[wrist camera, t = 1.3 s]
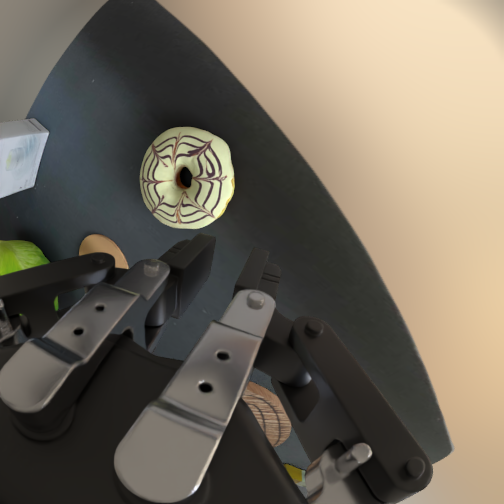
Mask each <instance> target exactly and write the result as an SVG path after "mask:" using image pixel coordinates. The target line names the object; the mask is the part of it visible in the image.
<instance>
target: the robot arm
mask: <svg viewBox="0 0 504 504" xmlns="http://www.w3.org/2000/svg"><path fill="white" fill-rule="evenodd" d="M215 242H216V238H215V237H214V236H210V235H206V234H203V233H199V234H198V235H197V236H195V237H194V238H193V239H192V240H191V241H190V240H184V241H181V242H178V243H177V244H175V245H174V246H173V247H172V248H171V249H169V250H168V251H167V252H166V253H165V254H163V255H162V256H161V257H160V258H159V259H157V260H155V259H146V260H141V261H139V262H137V263H136V264H135V265H134V266H132V267H131V268H130V269H125V268H118V267H115V258H114V256H112V255H111V254H108V253H104V252H94V253H90V254H85V255H81V256H77V257H72V258H68V259H64V260H60V261H56V262H52V263H47V264H43V265H39V266H35V267H31V268H28V269H24V270H20V271H16V272H12V273H8V274H5V275H1V276H0V504H396V503H398V502H400V501H402V500H404V499H406V498H408V497H410V496H412V495H414V494H416V493H418V492H419V491H421V490H423V489H424V488H425V487H427V485H428V484H429V483H430V481H431V478H432V474H433V466H432V463H431V460H430V459H429V457H428V455H427V454H426V453H425V451H424V450H423V449H422V447H421V446H420V445H419V443H418V442H417V440H416V439H415V438H414V436H413V435H412V434H411V432H410V431H409V430H408V428H407V427H406V426H405V424H404V423H403V421H402V420H401V419H400V417H399V416H398V415H397V413H396V412H395V411H394V409H393V408H392V407H391V405H390V404H389V403H388V401H387V400H386V399H385V397H384V396H383V395H382V393H381V392H380V391H379V389H378V388H377V387H376V386H375V384H374V383H373V382H372V380H371V379H370V378H369V376H368V375H367V374H366V372H365V371H364V370H363V368H362V367H361V366H360V365H359V363H358V362H357V361H356V359H355V358H354V357H353V355H352V354H351V353H350V352H349V350H348V349H347V348H346V346H345V345H344V344H343V342H342V341H341V340H340V339H339V337H338V336H337V335H336V333H335V332H334V331H333V330H332V328H331V327H330V326H329V325H328V324H327V323H326V322H324V321H322V320H321V319H318V318H315V317H311V316H302V317H299V318H297V319H296V320H295V321H294V322H293V321H291V320H289V319H287V318H286V317H284V316H283V315H281V314H280V313H279V312H278V310H277V309H276V307H275V299H276V295H277V290H278V286H279V281H280V276H281V270H280V268H279V266H278V265H276V264H272V263H269V262H267V260H268V256H269V251H265V250H261V249H258V248H253V250H252V252H251V254H250V256H249V258H248V260H247V262H246V264H245V266H244V268H243V270H242V272H241V274H240V276H239V278H238V280H237V282H236V284H235V288H234V293H233V298H232V302H231V303H230V305H229V306H228V308H227V310H226V311H225V313H224V314H223V316H222V317H221V319H220V320H219V321H216V320H212V321H211V323H210V324H209V325H208V327H207V328H206V330H205V331H204V333H203V334H202V336H201V337H200V338H199V340H198V341H197V343H196V344H195V346H194V347H193V349H192V350H191V352H190V353H189V354H188V356H187V357H186V359H185V360H184V361H182V360H175V359H170V358H164V357H159V356H155V355H153V352H154V350H155V348H156V346H157V345H158V343H159V341H160V339H161V338H162V336H163V334H164V332H165V331H166V328H167V320H168V319H169V318H170V316H171V317H173V318H176V319H180V318H181V316H182V315H183V313H184V312H185V311H186V309H187V308H188V306H189V305H190V303H191V302H192V300H193V299H194V298H195V296H196V295H197V293H198V292H199V291H200V289H201V288H202V286H203V285H204V283H205V282H206V281H207V279H208V277H209V274H210V271H211V266H212V260H213V254H214V248H215ZM83 287H84V288H85V295H84V296H83V297H82V298H81V299H80V300H79V301H78V302H77V303H76V304H75V305H74V306H72V307H68V308H65V309H62V310H56V309H55V305H54V301H55V298H56V297H57V296H58V295H60V294H62V293H66V292H69V291H73V290H76V289H80V288H83ZM20 314H23V315H22V316H21V315H20ZM254 368H256V369H258V370H260V371H262V372H264V373H265V374H267V375H269V376H271V377H272V378H271V383H272V385H273V387H274V390H275V392H276V394H277V396H278V398H279V400H280V402H281V404H282V406H283V408H284V410H285V412H286V414H287V416H288V418H289V420H290V422H291V424H292V426H293V428H294V430H295V432H296V434H297V436H298V438H299V440H300V442H301V444H302V446H303V448H304V450H305V452H306V454H307V456H308V458H309V460H310V461H311V464H310V465H309V466H308V468H307V470H306V472H305V477H304V479H305V484H306V487H307V498H306V499H305V497H304V496H303V494H302V493H301V491H300V490H299V488H298V487H297V485H296V484H295V482H294V481H293V479H292V477H291V476H290V474H289V473H288V471H287V470H286V468H285V466H284V465H283V463H282V462H281V460H280V458H279V457H278V455H277V453H276V452H275V450H274V448H273V447H272V445H271V443H270V442H269V440H268V438H267V436H266V435H265V433H264V431H263V430H262V428H261V426H260V424H259V423H258V421H257V419H256V417H255V415H254V414H253V412H252V410H251V409H250V407H249V406H248V405H247V403H246V402H245V401H244V400H243V396H244V394H245V391H246V389H247V386H248V384H249V381H250V378H251V376H252V373H253V371H254Z"/></svg>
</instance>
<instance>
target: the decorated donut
mask: <svg viewBox="0 0 504 504" xmlns="http://www.w3.org/2000/svg"><path fill="white" fill-rule="evenodd" d="M183 167H187V168H188V169H189V170H190V172H191V174H193V177H192V181H191V183H192V185H191V187H190V188H187V187H185V186H183V185H182V183H181V180H180V172H181V169H182V168H183ZM140 186H141V192H142V196H143V200H144V202H145V204H146V206H147V208H148V209H149V210H150V211H151V212H152V214H153V215H154V216H155V217H156V218H157V219H159V221H160V222H162V223H164V224H166V225H168V226H171V227H173V228H189V229H198V228H202V227H205V226H207V225H208V224H210V223H211V222H213V221H214V220H215V219H217V218H218V217H220V216H221V215H222V214H223V213H224V211H225V209H226V207H227V204H228V202H229V201H230V200H231V197H232V195H233V193H234V187H235V185H234V170H233V166H232V163H231V157H230V150H229V147H228V145H227V144H226V143H225V142H224V141H223V140H222V139H221V138H219V137H217V136H215V135H213V134H211V133H209V132H208V131H205V130H201V129H198V128H194V127H176V128H172V129H169V130H167V131H165V132H164V133H162V134H161V135H160V136H158V137H157V138H156V139H155V141H154V142H153V143H152V145H151V146H150V147H149V148H148V150H147V152H146V154H145V156H144V159H143V162H142V166H141V172H140Z"/></svg>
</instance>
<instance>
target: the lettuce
mask: <svg viewBox="0 0 504 504" xmlns="http://www.w3.org/2000/svg"><path fill="white" fill-rule="evenodd" d="M47 263H50V261H49V260H48V259H47V258H46V257H45V256H44V254H43V253H42V251H41V250H40V249H39V248H38V247H37V246H36V245H34V244H33V243H32V242H27V241H23V240H11V241H1V240H0V276H1V275H5V274H8V273H12V272H16V271H20V270H24V269H28V268H31V267H35V266H39V265H43V264H47ZM54 305H55V309H56V310H58V296H57V297H56V298H55V301H54ZM20 315H21V316H22V315H23V314H20Z"/></svg>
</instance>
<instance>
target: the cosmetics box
mask: <svg viewBox="0 0 504 504" xmlns="http://www.w3.org/2000/svg"><path fill="white" fill-rule="evenodd" d="M48 135H49V131H48V130H47V129H46V128H44V127H43V126H42V125H41V124H40V123H39V122H38V121H37V120H36V119H35V118H32V119H25V120H17V121H7V122H0V198H2V197H5V196H7V195H10V194H13V193H16V192H19V191H21V190H24V189H27V188H30V187H33V186H34V184H35V179H36V175H37V171H38V168H39V164H40V160H41V157H42V153H43V150H44V147H45V144H46V141H47V138H48Z"/></svg>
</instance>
